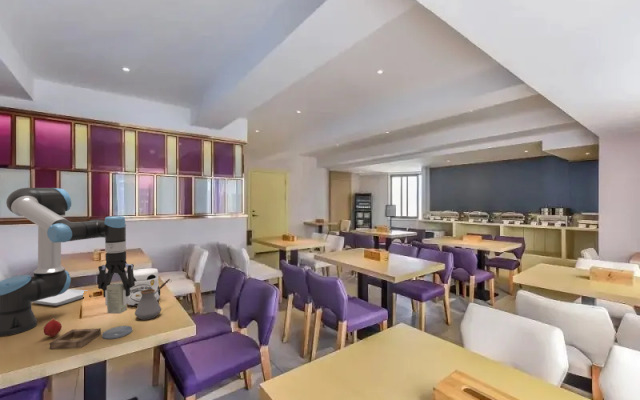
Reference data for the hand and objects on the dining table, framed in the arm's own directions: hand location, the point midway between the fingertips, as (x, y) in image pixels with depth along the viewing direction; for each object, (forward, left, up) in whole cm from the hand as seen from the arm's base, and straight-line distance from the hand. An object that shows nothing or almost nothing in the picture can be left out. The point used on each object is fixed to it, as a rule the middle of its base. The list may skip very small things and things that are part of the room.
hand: (117, 303), depth 134 cm
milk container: (-8, +39, -13) cm, 42 cm away
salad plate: (-58, +49, -14) cm, 77 cm away
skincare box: (0, 0, -4) cm, 4 cm away
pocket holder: (-13, -6, -13) cm, 19 cm away
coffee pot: (+6, +23, -13) cm, 27 cm away
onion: (-26, -1, -13) cm, 29 cm away
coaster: (0, 0, -13) cm, 13 cm away
